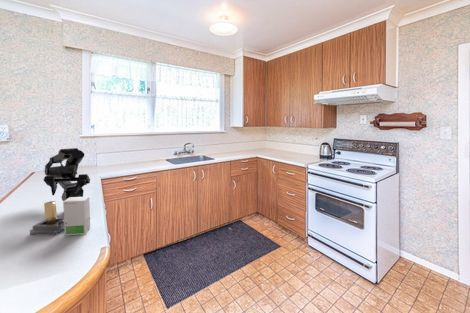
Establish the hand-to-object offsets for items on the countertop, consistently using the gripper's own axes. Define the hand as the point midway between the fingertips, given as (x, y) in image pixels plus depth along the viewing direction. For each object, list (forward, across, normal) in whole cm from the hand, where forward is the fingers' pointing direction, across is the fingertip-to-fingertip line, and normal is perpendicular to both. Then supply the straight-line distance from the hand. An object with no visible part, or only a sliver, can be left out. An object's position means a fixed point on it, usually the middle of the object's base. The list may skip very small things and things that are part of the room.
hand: (64, 194), depth 110 cm
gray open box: (+17, -2, +2) cm, 17 cm away
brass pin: (+17, -2, +2) cm, 17 cm away
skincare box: (+21, +10, -1) cm, 23 cm away
